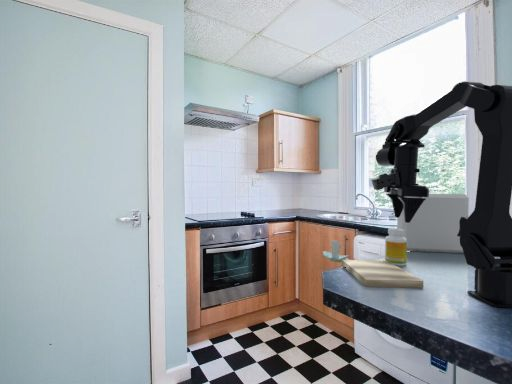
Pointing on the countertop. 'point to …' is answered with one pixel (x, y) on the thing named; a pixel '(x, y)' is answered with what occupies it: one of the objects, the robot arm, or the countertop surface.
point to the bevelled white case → (436, 224)
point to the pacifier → (335, 252)
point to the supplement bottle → (396, 247)
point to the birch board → (381, 274)
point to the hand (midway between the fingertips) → (401, 219)
